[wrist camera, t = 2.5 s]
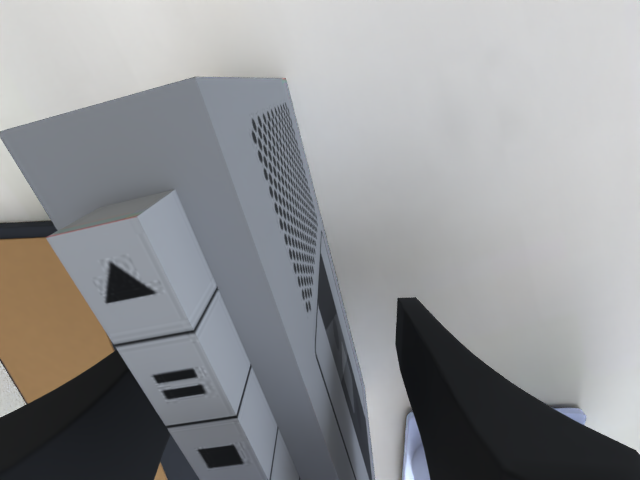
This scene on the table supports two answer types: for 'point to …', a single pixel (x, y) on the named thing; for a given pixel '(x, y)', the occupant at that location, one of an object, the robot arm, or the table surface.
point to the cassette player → (209, 271)
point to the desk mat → (52, 325)
